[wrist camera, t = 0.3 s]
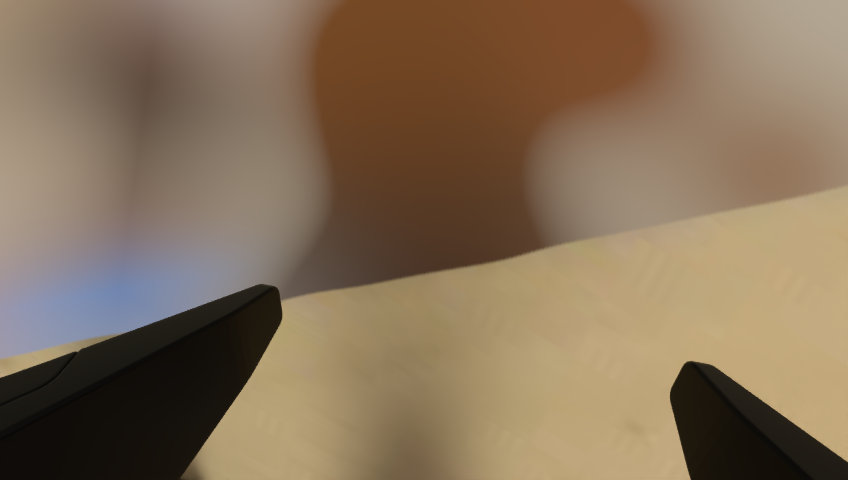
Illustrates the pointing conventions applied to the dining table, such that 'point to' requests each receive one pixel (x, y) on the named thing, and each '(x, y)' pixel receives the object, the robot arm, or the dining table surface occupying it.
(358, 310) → the dining table surface
